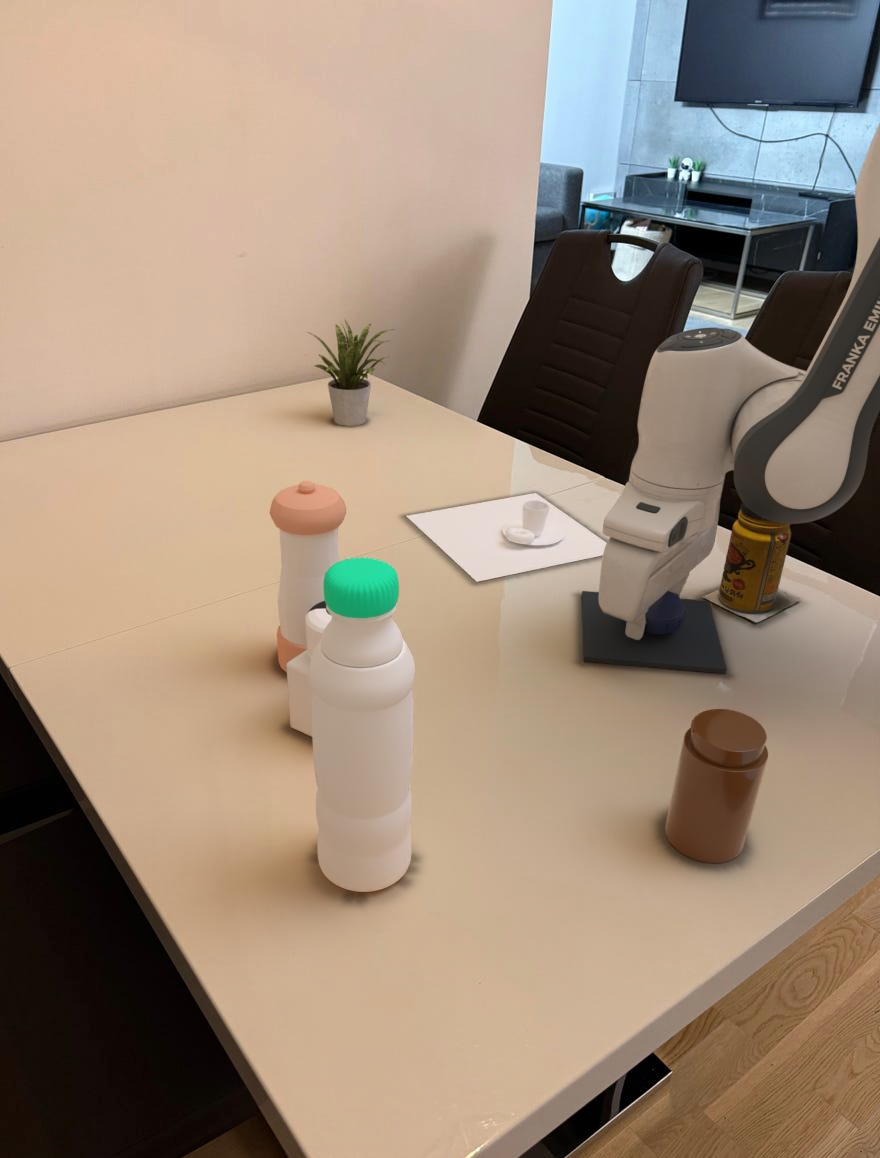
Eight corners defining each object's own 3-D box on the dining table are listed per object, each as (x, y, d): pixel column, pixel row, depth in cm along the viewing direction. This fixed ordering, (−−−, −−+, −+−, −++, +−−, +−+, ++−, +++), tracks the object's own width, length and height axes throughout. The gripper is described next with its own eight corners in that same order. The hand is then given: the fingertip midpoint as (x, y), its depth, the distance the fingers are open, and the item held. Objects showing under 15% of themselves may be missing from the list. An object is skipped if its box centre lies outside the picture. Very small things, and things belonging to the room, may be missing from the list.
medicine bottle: (337, 691, 91) (334, 581, 85) (398, 717, 88) (399, 605, 81) (288, 728, 86) (281, 614, 80) (350, 757, 83) (347, 640, 76)
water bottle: (402, 903, 69) (407, 602, 55) (307, 889, 70) (290, 591, 56) (417, 835, 74) (425, 549, 61) (330, 824, 75) (319, 540, 62)
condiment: (701, 598, 108) (720, 500, 101) (746, 577, 112) (768, 482, 106) (756, 624, 103) (780, 523, 96) (801, 602, 107) (827, 503, 101)
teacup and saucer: (516, 554, 116) (518, 524, 114) (485, 528, 122) (487, 499, 120) (576, 542, 119) (580, 512, 117) (543, 517, 126) (546, 489, 123)
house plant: (417, 422, 158) (419, 321, 149) (357, 442, 149) (356, 337, 140) (357, 402, 166) (356, 306, 157) (297, 421, 157) (293, 320, 149)
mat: (708, 605, 106) (708, 600, 106) (725, 673, 94) (727, 668, 94) (581, 595, 108) (582, 590, 108) (583, 661, 96) (584, 656, 96)
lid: (607, 611, 101) (609, 597, 100) (652, 596, 104) (654, 581, 103) (650, 640, 97) (652, 625, 96) (695, 623, 99) (698, 609, 98)
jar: (736, 813, 77) (763, 708, 71) (749, 867, 72) (780, 758, 66) (661, 806, 78) (682, 702, 72) (669, 859, 73) (693, 751, 67)
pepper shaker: (346, 637, 99) (342, 465, 89) (355, 676, 93) (351, 495, 83) (276, 643, 98) (264, 469, 88) (281, 682, 92) (268, 500, 82)
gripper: (686, 462, 102) (666, 576, 109) (594, 524, 88) (578, 650, 95) (743, 476, 98) (719, 593, 106) (657, 543, 85) (636, 672, 92)
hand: (651, 621), depth 100 cm, fingers closed on lid, 6 cm apart
